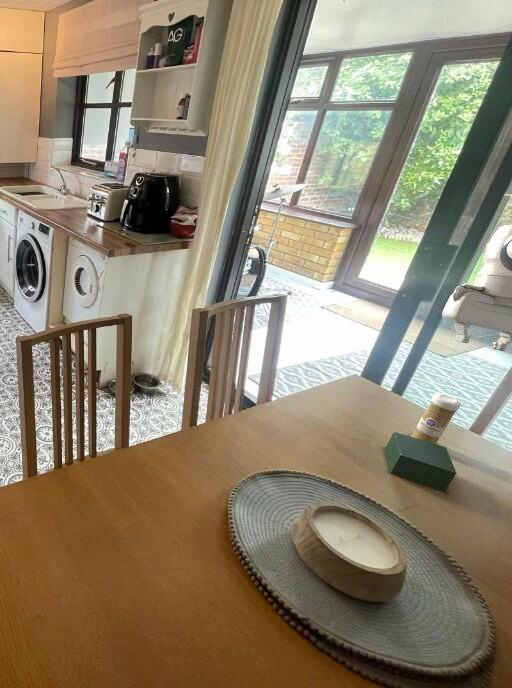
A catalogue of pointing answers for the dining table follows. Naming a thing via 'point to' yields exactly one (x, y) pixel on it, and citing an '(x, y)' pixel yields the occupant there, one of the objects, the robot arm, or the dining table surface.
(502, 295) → the robot arm
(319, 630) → the dining table surface
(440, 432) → the sprinkles bottle
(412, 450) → the riser block
